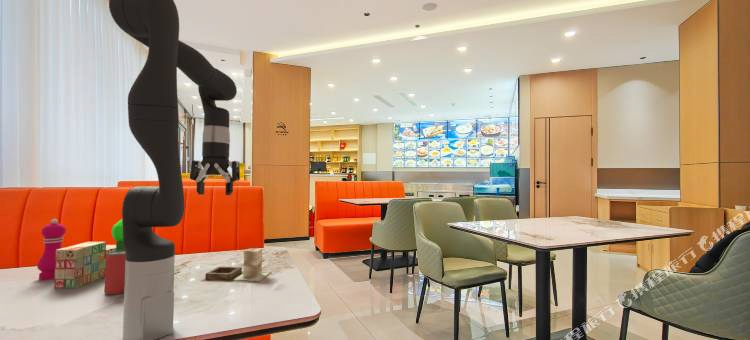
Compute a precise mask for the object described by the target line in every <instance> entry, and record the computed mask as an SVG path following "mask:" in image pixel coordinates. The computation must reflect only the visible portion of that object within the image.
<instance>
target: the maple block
mask: <svg viewBox="0 0 750 340" xmlns="http://www.w3.org/2000/svg"><path fill="white" fill-rule="evenodd" d="M262 267H263V248H254V247H253V248H248V249H245V250H244V251H243V271H244V272H243V278H257V277H258V276H260V275H261V274H262V272H263V271H262V270H263V268H262Z"/></svg>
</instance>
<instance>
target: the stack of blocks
mask: <svg viewBox="0 0 750 340" xmlns="http://www.w3.org/2000/svg"><path fill="white" fill-rule="evenodd" d="M114 251H116V244H107V242H106V241H86V242H82V243H81V242H80V243H78V244H74V245H70V246H67V247H66V246H65V247H61V249H57V250H56V260H55V279H54V283H53V284H54V285H53V286H54V289H76V288H79V287H81V286H84V285H86V283H87V284H90V283H92V282H95V281H97V280H99V279H102V278H105V261H106V258H107V256H108V253H110V252H114ZM101 277H102V278H101ZM96 279H97V280H96ZM94 280H95V281H94ZM78 286H79V287H78ZM75 287H76V288H75Z"/></svg>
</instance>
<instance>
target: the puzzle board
mask: <svg viewBox="0 0 750 340" xmlns="http://www.w3.org/2000/svg"><path fill="white" fill-rule="evenodd" d="M243 272H244V270H243V267H242V266H218V267H215V268H213V269H212V270H209V271H208V272H207V271H206V273H205V277H204V278H203V279H201V280H200V282H211V283H213V282H215V283H217V282H218V283H219V282H220V283H246V284H247V283H251V284H261V283H262V281H264V280H265V279H267V278H268V277H269V276H271V275H272V274H273V271H262V274H261V275H260V276H258V277H257V278H243Z"/></svg>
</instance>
